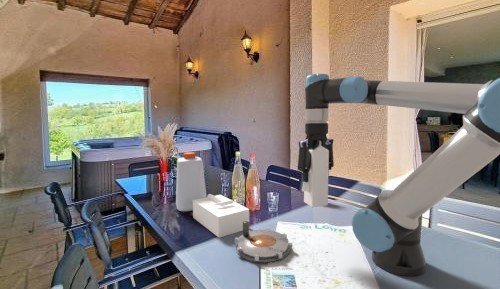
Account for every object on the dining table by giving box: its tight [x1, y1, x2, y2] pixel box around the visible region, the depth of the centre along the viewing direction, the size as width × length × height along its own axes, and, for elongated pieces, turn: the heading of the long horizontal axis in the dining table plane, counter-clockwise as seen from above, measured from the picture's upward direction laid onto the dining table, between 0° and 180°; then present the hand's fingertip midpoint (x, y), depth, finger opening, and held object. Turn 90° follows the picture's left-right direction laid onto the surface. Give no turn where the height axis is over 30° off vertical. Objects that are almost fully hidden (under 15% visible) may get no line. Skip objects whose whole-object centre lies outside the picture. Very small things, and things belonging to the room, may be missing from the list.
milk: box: [303, 141, 330, 208], centre depth 93 cm, size 6×6×22 cm
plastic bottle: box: [175, 151, 207, 212], centre depth 140 cm, size 15×15×28 cm
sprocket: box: [234, 221, 293, 261], centre depth 97 cm, size 20×20×7 cm
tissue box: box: [192, 193, 250, 239], centre depth 120 cm, size 14×25×11 cm, turn 35°
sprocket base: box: [235, 243, 291, 264], centre depth 98 cm, size 19×19×1 cm
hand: (315, 189), depth 94 cm, fingers closed on milk, 7 cm apart
